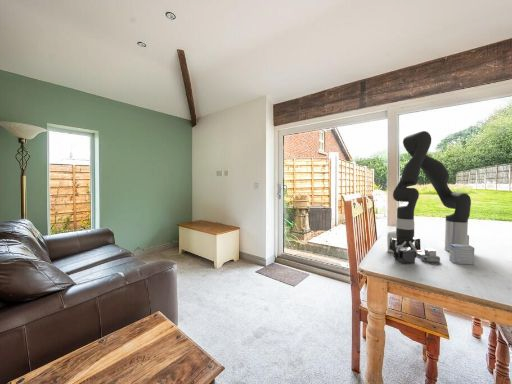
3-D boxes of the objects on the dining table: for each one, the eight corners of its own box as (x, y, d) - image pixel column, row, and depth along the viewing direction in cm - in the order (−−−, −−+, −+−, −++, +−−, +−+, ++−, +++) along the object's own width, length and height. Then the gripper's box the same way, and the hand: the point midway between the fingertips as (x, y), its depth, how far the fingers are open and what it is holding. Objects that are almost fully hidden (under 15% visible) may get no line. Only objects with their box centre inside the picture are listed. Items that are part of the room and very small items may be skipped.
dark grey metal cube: (406, 259, 113) (406, 247, 112) (414, 263, 107) (415, 251, 106) (395, 259, 113) (395, 247, 112) (402, 264, 107) (403, 251, 106)
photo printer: (386, 251, 125) (386, 230, 124) (388, 249, 128) (389, 229, 127) (406, 256, 117) (407, 233, 116) (409, 254, 120) (409, 232, 119)
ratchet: (416, 251, 124) (416, 241, 124) (444, 263, 106) (444, 251, 106) (403, 251, 124) (403, 241, 124) (428, 264, 106) (428, 252, 106)
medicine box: (468, 261, 108) (469, 244, 107) (474, 265, 103) (474, 247, 103) (449, 260, 110) (449, 243, 110) (453, 263, 106) (454, 246, 105)
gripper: (413, 225, 112) (413, 255, 113) (386, 225, 112) (386, 256, 113) (425, 228, 105) (424, 260, 106) (395, 229, 105) (395, 261, 106)
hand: (404, 258), depth 110 cm, fingers open, 8 cm apart
